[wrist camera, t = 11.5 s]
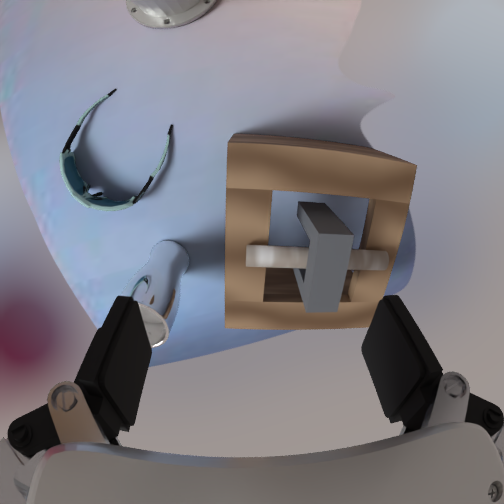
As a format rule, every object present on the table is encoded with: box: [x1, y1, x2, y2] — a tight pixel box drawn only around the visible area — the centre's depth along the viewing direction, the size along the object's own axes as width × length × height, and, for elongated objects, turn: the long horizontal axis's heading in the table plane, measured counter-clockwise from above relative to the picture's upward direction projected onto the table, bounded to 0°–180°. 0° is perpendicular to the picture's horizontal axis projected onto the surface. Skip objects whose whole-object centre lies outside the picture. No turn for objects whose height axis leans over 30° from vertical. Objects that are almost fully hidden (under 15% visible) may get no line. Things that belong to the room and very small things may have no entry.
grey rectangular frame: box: [293, 201, 354, 313], centre depth 28 cm, size 8×3×9 cm, turn 177°
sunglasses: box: [59, 89, 173, 211], centre depth 32 cm, size 14×15×5 cm
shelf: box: [225, 134, 417, 330], centre depth 32 cm, size 20×18×14 cm
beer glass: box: [120, 240, 189, 348], centre depth 34 cm, size 7×7×15 cm
